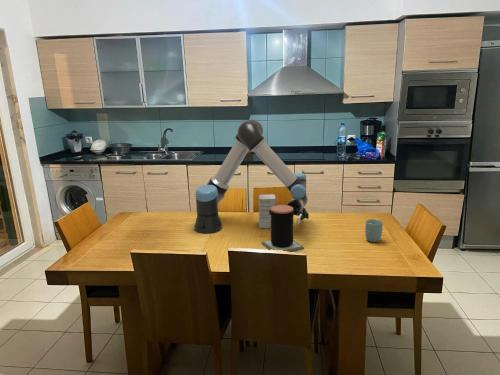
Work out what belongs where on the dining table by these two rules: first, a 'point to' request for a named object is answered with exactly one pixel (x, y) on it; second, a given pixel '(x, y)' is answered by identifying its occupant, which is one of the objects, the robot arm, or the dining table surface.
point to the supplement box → (265, 210)
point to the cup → (373, 230)
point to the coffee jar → (282, 226)
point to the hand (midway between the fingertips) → (284, 219)
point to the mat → (293, 247)
